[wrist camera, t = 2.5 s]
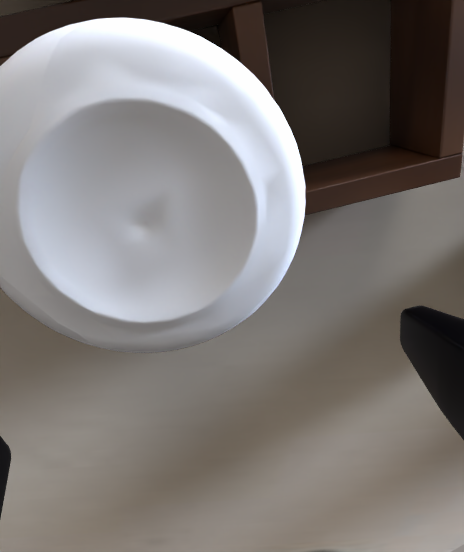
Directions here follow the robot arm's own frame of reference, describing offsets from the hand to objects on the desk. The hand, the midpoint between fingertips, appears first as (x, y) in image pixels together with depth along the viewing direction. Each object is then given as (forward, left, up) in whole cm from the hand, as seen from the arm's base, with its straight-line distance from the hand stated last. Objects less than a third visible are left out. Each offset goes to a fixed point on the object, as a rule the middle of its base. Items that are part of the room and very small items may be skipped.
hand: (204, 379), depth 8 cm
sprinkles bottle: (+4, 0, -12) cm, 13 cm away
